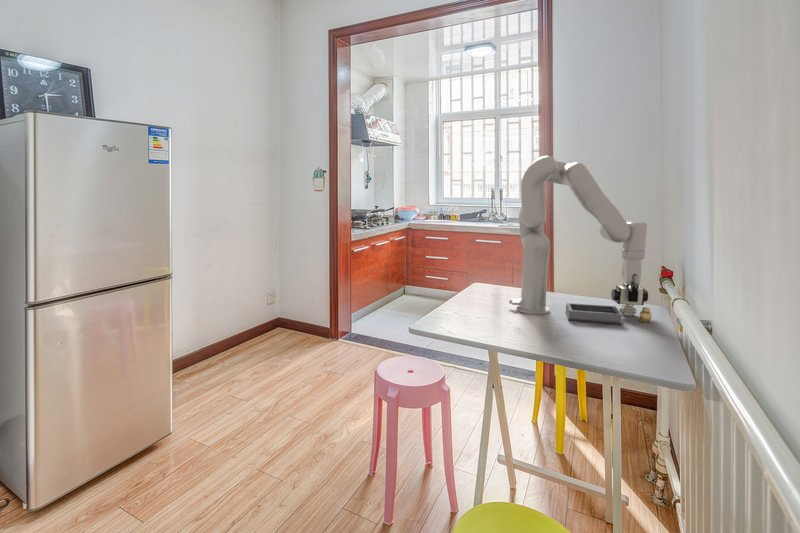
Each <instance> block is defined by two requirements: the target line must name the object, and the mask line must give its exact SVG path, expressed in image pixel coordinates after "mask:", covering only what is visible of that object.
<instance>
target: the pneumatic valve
mask: <svg viewBox="0 0 800 533" xmlns="http://www.w3.org/2000/svg"><path fill="white" fill-rule="evenodd" d="M629 291H630V288H629V286H623V285H615V288H614V289H613V288H612V289H611V292H610V294H611V295H610V296H611V300H612V301H614V302H615V303H616V304H618V305H621V306H620V307H619V312H620V313H621V314H622V316H624V317H625V316H626V317H634V316H635V315H636V314H637V309H636V308H635V307H634V306H644V304H645V303H646V302H648V300H649V292H648V290H647V289H646V288H644V287H642V286H639V293H638V302H629V301H628V293H629Z"/></svg>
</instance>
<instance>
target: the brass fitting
mask: <svg viewBox="0 0 800 533" xmlns="http://www.w3.org/2000/svg"><path fill="white" fill-rule="evenodd" d="M651 320H652V312H651V308H649V307H642V309H641V311H639V319H638V322H639V323H642V324H645V323H647V324H651V323H652V322H651Z"/></svg>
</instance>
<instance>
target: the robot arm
mask: <svg viewBox="0 0 800 533" xmlns="http://www.w3.org/2000/svg"><path fill="white" fill-rule="evenodd" d="M547 182H549V183H554V184H557V185H563V186H568V187H569V189H570V190H571V191H572V193H573V194H574V196H575V197H576V199H577V201H578V203H579V204H580V206H582V208H583V209H584V210H585V211H586V212H588V213H590V215H591V216H592V217H593V218H595V219H596V220H597V221H598V223H599V224H600V225H601V226H600V228H599V234H600V236H601V237H602V238H603V239H605V240H607V241H609V242H613V243H617V244H619V243H622V249H621V250H622V251H621V258H622V264H621V265H622V266H621V272H620V281H621V282H622V286H629V288H630V291H629V293H628V301H629V302H638V293H639V287H640V286H639V285H640V284H641V276H642V260H645V255H646V244H647V235H648V234H647V233H648V232H647V231H648V225H647V223H646V222H644V221H638V220H637V221H636V220H635V221H634V220H632V221H626V219H625V218H624V217H623V215H622V214H621V213H620V210H618V209H617V207H616V206H615V205H614V203H612V201H611V200H610V199H609V198H608V196H607V195H606V194H605V193H604V191H603V190H602V189H601V187H600V186H599V184H598V183H597V182H596V180H595V179H594V176H593V174H591V172H590V170H589V169H588V167H587V166H586V165H584V164H583V163H582V162H571V163H569V162H564V161H558V160H556V159H555V158H554V157H552V156H549V155H544V156H543V155H542V156H540V157H539V158H537V159H535V160H534V161H533V162H532V163H531V164H530V166H528V168H527V169H526V171H525V172H524V174H523V176H522V180H521V183H520V201H521V208H520V210H519V213H518V224H519V235H520V243H521V244H520V245H521V247H522V248H523V257H522V271H521V275H522V276H521V292H520V293H521V294H520V295H521V296H520V298H517V299H514V298H509V304H511V305H513V306H514V305H515V306H516V310H517V311H518V312H520V313H522V314H526V315H537V316H538V315H540V316H541V315H547V314H549V313H550V307H549V306H546V304H547V292H548V291H547V290H548V275H549V274H548V273H549V272H548V271H549V260H550V255H551V254H550V253H551V241H550V239H549V237H548V236H547V235H546V234H545V225H544V224H545V223H546V220H547V213H546V212H547V211H546V203H545V200H546V199H545V185H546V183H547Z"/></svg>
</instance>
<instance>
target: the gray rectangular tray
mask: <svg viewBox="0 0 800 533" xmlns="http://www.w3.org/2000/svg"><path fill="white" fill-rule="evenodd" d="M565 316H566V319H567V321H568V322H571V323H584V324H597V325H611V326H621V325H622V317H623V314H622V313H620V309H618V308H617V307H616V306H615V305H603V304H602V305H601V304H589V303H588V304H586V303H573V302H566V304H565Z"/></svg>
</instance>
